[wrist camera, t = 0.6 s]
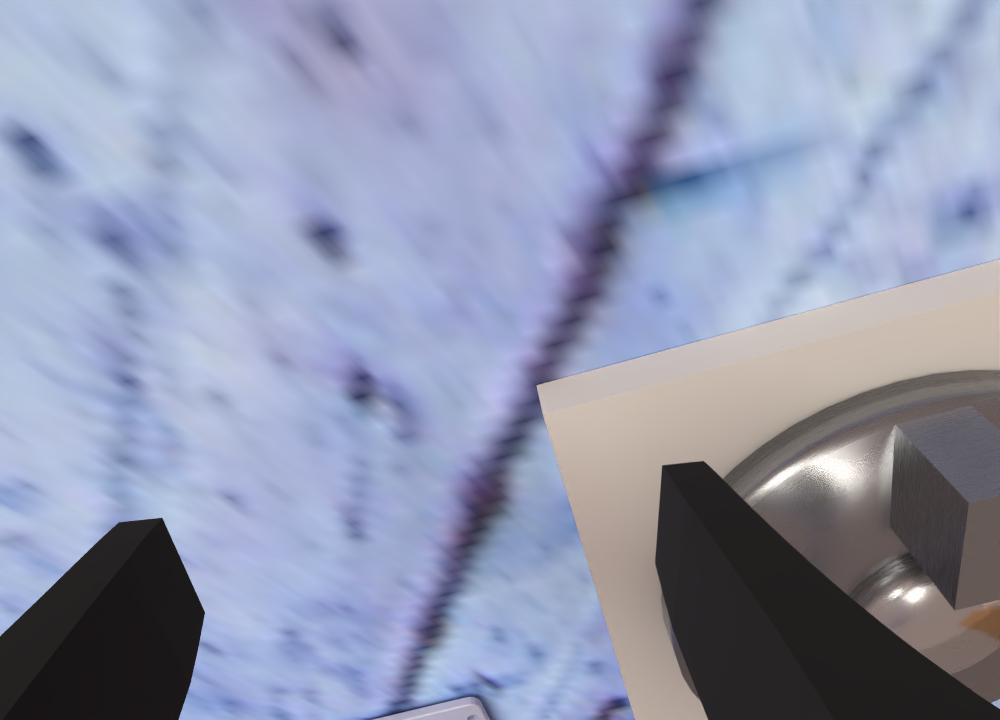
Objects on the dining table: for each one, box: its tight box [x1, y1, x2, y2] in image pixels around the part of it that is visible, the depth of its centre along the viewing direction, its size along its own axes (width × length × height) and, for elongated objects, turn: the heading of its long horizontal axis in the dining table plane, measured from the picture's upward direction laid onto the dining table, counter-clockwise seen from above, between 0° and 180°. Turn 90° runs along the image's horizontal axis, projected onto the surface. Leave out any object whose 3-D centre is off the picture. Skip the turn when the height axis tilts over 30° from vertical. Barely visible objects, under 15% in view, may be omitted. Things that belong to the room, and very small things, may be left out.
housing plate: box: [537, 259, 1000, 720], centre depth 24 cm, size 20×20×2 cm
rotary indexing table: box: [661, 370, 1000, 703], centre depth 22 cm, size 16×16×5 cm
